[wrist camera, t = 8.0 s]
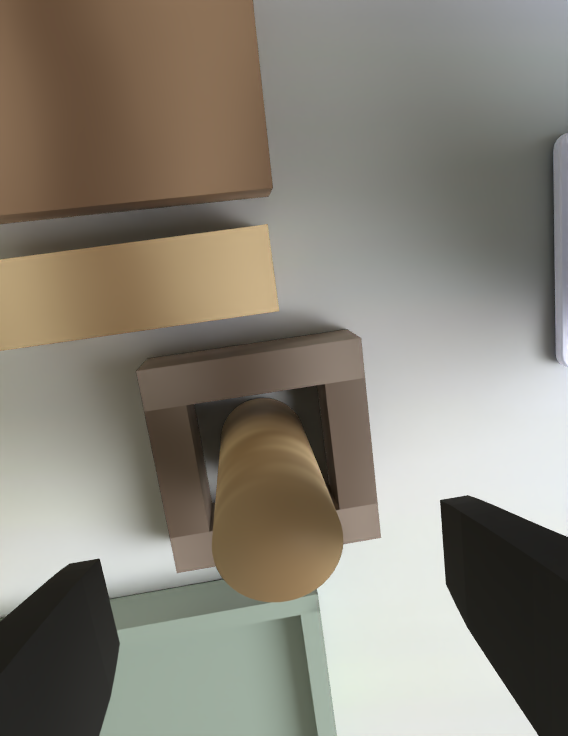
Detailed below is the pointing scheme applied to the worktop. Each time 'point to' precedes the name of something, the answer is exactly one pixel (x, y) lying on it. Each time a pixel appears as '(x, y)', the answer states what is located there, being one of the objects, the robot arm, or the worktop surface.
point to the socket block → (251, 377)
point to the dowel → (272, 507)
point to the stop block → (135, 286)
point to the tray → (218, 665)
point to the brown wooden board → (128, 106)
